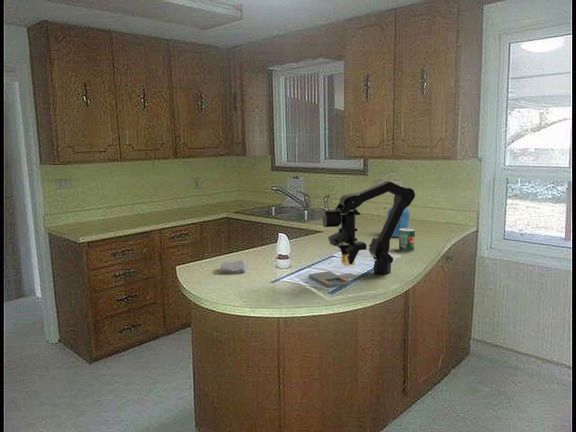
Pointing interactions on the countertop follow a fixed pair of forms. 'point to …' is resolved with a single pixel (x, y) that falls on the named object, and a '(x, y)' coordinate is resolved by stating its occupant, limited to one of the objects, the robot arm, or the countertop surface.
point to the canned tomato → (406, 239)
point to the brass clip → (346, 260)
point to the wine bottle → (401, 221)
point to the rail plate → (329, 279)
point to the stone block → (234, 267)
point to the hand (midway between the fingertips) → (348, 262)
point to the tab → (348, 276)
